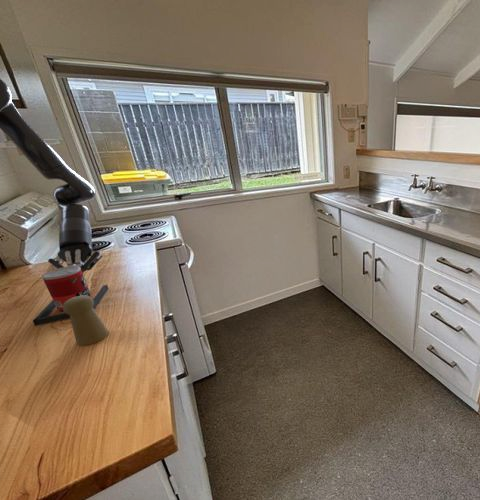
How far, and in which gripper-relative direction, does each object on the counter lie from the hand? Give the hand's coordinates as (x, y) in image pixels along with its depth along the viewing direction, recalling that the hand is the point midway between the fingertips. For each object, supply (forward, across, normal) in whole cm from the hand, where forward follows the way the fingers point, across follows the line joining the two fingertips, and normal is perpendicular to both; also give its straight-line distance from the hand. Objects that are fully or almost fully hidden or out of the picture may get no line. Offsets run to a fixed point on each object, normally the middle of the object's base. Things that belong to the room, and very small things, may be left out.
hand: (76, 283), depth 86 cm
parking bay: (+7, 0, 0) cm, 7 cm away
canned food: (+7, 0, 0) cm, 7 cm away
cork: (+22, +9, -15) cm, 29 cm away
